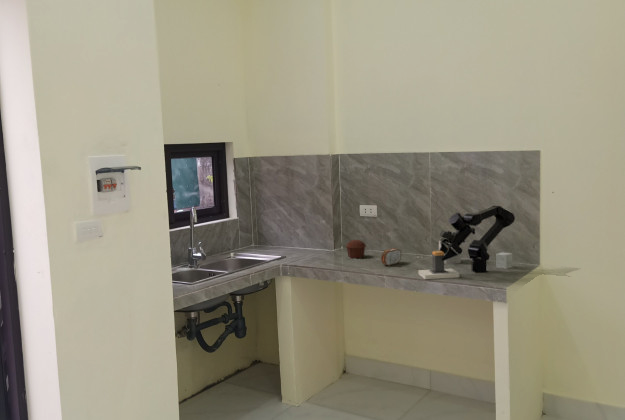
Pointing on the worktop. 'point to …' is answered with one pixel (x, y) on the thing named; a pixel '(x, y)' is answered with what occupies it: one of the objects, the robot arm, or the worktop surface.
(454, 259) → the toilet paper roll
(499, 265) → the product box
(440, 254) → the plug
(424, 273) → the socket plate
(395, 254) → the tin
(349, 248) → the muffin
